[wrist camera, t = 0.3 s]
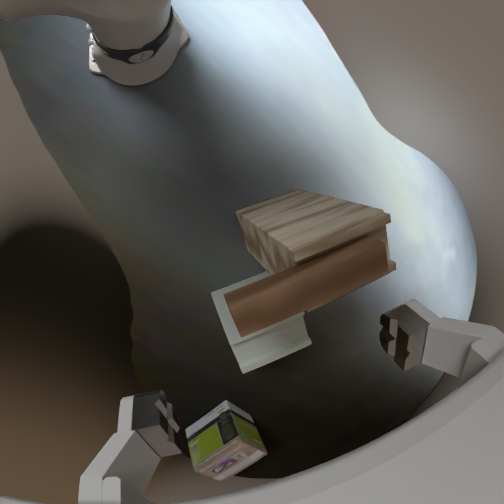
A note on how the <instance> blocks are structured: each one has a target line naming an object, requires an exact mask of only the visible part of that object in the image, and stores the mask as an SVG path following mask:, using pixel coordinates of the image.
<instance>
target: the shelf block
mask: <svg viewBox="0 0 504 504" xmlns="http://www.w3.org/2000/svg"><path fill="white" fill-rule="evenodd" d="M235 213H236V216H237V219H238V222H239V225H240V228H241V231H242V235H243V238H244V241H245V244H246V247H247V250H248V251H249V252H250V253H251V255H252V256H253V257H254V258H255V259H256V260H257V261H258V262H259V263H260V264H261V265H262V266H263V267H264V268H265V269H266V270H267V271H268V273H269V274H270V275H273V274H276V273H278V272H281V271H283V270H286V269H288V268H291V267H293V266H296V265H298V264H300V263H303V262H305V261H308V260H310V259H313V258H315V257H317V256H320V255H322V254H325V253H327V252H329V251H332V250H334V249H337V248H339V247H341V246H344V245H346V244H348V243H351V242H353V241H356V240H358V239H360V238H363V237H365V236H370V237H372V238H375V239H377V240H380V241H382V242H385V244H386V252H387V261H388V271H387V272H385V273H383V274H381V275H379V276H377V277H375V278H373V279H371V280H369V281H367V282H365V283H363V284H361V285H359V286H357V287H355V288H353V289H351V290H349V291H347V292H345V293H342V294H340V295H338V296H336V297H334V298H332V299H330V300H328V301H325V302H323V303H321V304H319V305H317V306H315V307H312V308H310V309H308V310H306V311H307V312H310V311H312V310H314V309H317V308H319V307H321V306H323V305H325V304H327V303H330V302H332V301H334V300H336V299H338V298H340V297H342V296H344V295H346V294H348V293H351V292H353V291H355V290H357V289H359V288H361V287H363V286H365V285H367V284H369V283H371V282H373V281H375V280H377V279H379V278H381V277H383V276H384V275H386V274H388V273H390V272H392V271H394V270H396V262H394V261H391V260H390V258H389V249H388V240H387V232H386V225H385V224H388V223H390V222H391V219H390V214H387V213H384V212H383V210H381V209H377V208H373V207H369V206H365V205H361V204H357V203H353V202H349V201H345V200H341V199H337V198H333V197H328V196H324V195H319V194H315V193H310V192H306V191H301V190H296V191H293V192H290V193H287V194H284V195H281V196H278V197H275V198H272V199H269V200H266V201H263V202H260V203H257V204H254V205H251V206H249V207H246V208H243V209H240V210H237V211H235Z"/></svg>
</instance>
